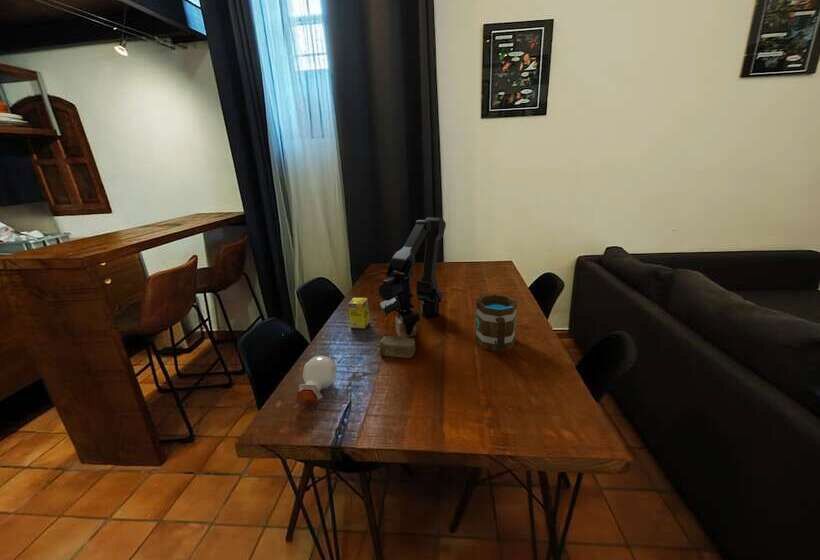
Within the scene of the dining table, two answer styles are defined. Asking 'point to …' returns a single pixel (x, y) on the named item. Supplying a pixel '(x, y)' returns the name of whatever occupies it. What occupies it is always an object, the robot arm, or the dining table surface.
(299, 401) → the potion bottle
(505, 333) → the mug
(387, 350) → the stone block
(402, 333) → the beige cube
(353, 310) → the supplement box
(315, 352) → the dining table surface
